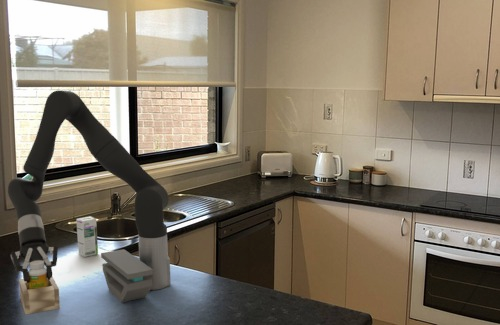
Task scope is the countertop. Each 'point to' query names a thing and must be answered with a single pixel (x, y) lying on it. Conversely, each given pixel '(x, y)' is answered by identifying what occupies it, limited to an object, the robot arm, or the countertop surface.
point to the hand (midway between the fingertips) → (38, 280)
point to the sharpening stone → (126, 275)
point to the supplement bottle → (37, 275)
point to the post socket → (39, 297)
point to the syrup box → (87, 236)
